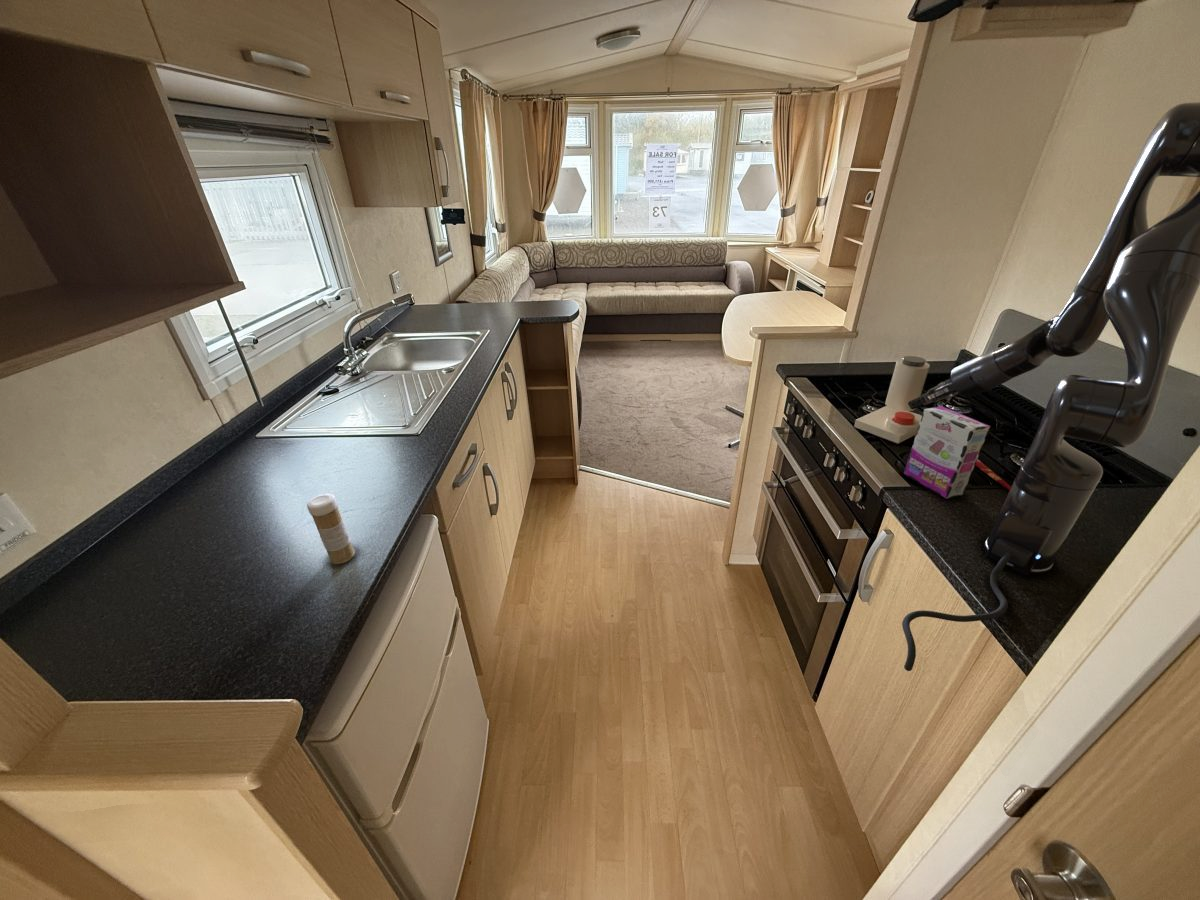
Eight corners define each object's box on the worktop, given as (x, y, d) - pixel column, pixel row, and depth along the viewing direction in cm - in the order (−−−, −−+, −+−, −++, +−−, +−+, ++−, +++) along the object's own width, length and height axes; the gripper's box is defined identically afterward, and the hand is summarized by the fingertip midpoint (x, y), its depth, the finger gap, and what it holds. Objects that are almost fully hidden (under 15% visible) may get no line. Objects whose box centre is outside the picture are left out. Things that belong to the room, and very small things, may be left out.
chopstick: (1022, 504, 98) (1024, 500, 97) (950, 447, 119) (951, 443, 118) (1032, 503, 98) (1034, 500, 97) (958, 446, 118) (959, 443, 118)
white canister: (907, 413, 127) (921, 366, 121) (879, 404, 133) (891, 358, 126) (922, 406, 131) (937, 359, 124) (894, 397, 136) (907, 352, 130)
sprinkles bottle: (335, 550, 94) (312, 493, 87) (359, 548, 94) (338, 491, 88) (326, 566, 90) (301, 508, 83) (351, 564, 90) (328, 506, 84)
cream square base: (902, 445, 120) (907, 431, 118) (853, 426, 130) (857, 413, 128) (935, 428, 128) (940, 414, 126) (886, 411, 138) (890, 398, 136)
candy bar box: (964, 495, 101) (992, 426, 93) (946, 500, 100) (973, 430, 92) (919, 469, 111) (941, 404, 103) (902, 473, 110) (923, 408, 101)
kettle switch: (906, 427, 121) (909, 420, 120) (889, 421, 124) (891, 414, 123) (916, 423, 123) (918, 415, 122) (898, 417, 126) (900, 410, 125)
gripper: (987, 352, 109) (917, 386, 125) (959, 365, 103) (888, 399, 119) (1006, 380, 108) (932, 411, 123) (978, 395, 102) (904, 425, 117)
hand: (911, 405), depth 121 cm, fingers closed
